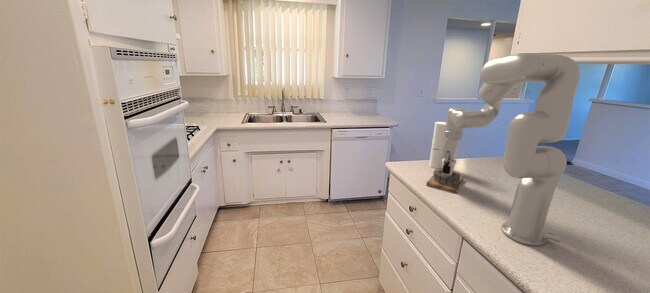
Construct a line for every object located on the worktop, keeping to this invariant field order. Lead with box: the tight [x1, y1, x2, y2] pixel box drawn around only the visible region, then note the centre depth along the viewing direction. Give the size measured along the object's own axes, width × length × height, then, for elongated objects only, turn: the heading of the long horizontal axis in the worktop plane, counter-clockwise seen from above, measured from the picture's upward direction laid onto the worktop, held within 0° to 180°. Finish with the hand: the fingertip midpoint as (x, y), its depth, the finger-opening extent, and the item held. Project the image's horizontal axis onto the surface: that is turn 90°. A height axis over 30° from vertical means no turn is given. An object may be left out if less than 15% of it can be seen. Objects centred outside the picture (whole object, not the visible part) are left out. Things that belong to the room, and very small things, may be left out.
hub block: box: [426, 168, 465, 194], centre depth 133 cm, size 13×18×5 cm
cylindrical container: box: [428, 121, 447, 170], centre depth 151 cm, size 7×7×25 cm
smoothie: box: [441, 158, 457, 176], centre depth 131 cm, size 6×6×14 cm
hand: (447, 170), depth 131 cm, fingers closed on smoothie, 6 cm apart
